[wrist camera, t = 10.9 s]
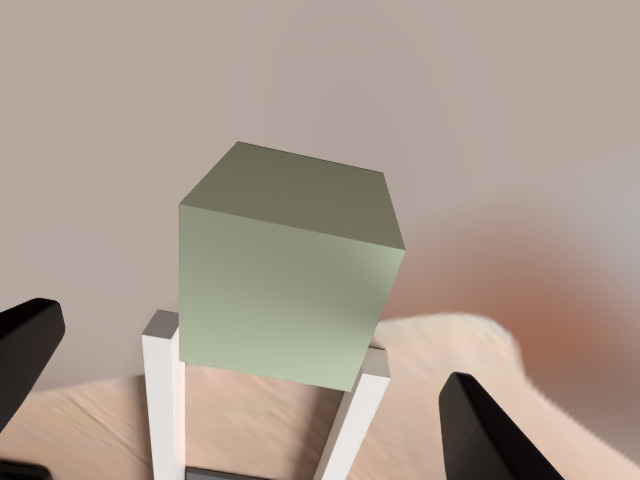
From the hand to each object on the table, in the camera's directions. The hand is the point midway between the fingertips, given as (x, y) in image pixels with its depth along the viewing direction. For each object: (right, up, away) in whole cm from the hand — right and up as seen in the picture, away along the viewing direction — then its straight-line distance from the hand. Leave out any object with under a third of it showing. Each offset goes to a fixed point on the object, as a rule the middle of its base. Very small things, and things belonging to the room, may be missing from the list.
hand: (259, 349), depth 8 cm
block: (+1, +3, +5) cm, 6 cm away
